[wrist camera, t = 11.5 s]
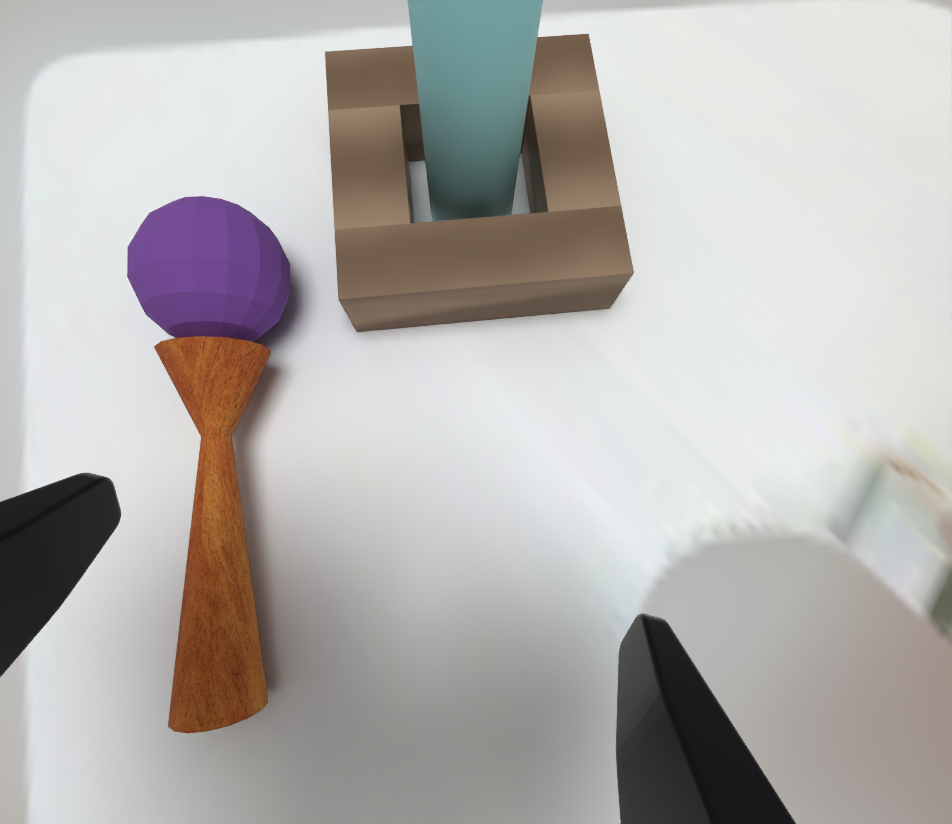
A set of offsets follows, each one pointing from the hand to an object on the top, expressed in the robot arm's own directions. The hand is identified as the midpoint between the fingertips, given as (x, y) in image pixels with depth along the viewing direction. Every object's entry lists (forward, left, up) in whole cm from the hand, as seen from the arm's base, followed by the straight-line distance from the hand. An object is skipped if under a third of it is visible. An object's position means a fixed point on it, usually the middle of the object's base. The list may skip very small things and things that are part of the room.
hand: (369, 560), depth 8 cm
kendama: (+5, +8, -14) cm, 17 cm away
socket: (+16, -4, -13) cm, 21 cm away
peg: (+16, -4, -14) cm, 21 cm away
